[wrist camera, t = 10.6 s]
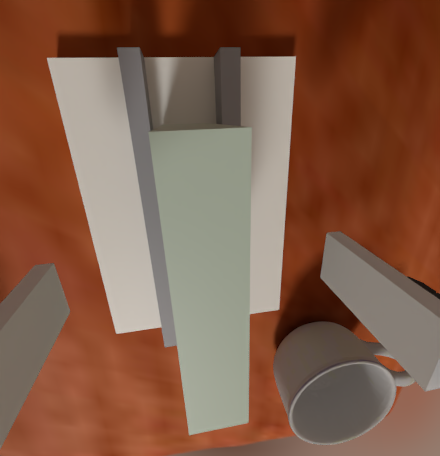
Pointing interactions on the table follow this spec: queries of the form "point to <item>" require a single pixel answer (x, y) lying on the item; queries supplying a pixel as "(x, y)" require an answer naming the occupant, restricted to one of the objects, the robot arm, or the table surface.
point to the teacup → (333, 383)
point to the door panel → (208, 263)
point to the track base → (143, 167)
